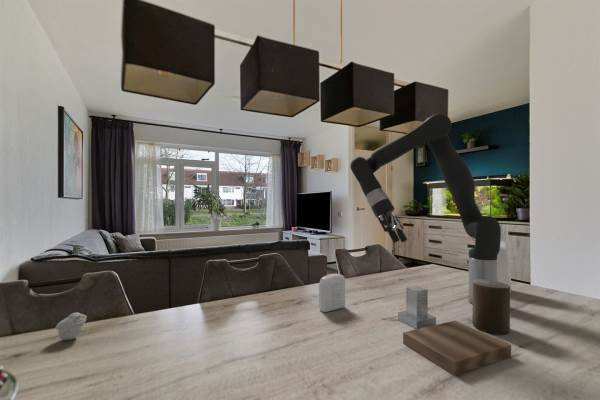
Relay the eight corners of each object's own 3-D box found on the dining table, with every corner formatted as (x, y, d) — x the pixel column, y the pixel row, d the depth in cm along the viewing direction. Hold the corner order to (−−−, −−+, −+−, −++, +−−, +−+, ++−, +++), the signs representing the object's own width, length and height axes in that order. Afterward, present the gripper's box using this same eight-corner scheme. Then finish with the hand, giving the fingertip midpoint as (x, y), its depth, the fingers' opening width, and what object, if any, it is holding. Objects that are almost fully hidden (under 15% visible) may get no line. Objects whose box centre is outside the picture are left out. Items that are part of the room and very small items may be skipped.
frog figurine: (88, 338, 83) (88, 313, 82) (56, 347, 78) (56, 320, 78) (84, 331, 87) (84, 308, 87) (53, 339, 82) (53, 314, 82)
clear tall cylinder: (474, 290, 127) (474, 230, 127) (479, 284, 135) (479, 228, 135) (508, 296, 119) (508, 232, 119) (511, 290, 128) (511, 230, 128)
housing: (416, 316, 99) (416, 283, 99) (436, 325, 92) (436, 290, 92) (398, 319, 96) (398, 286, 96) (416, 329, 88) (416, 293, 88)
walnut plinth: (454, 330, 88) (454, 320, 88) (511, 356, 73) (511, 344, 73) (403, 343, 80) (403, 332, 80) (454, 375, 65) (454, 362, 65)
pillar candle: (498, 337, 83) (499, 285, 83) (465, 324, 92) (466, 276, 92) (516, 331, 88) (517, 281, 88) (483, 319, 96) (484, 273, 96)
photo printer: (339, 304, 110) (339, 271, 110) (347, 307, 106) (347, 273, 106) (317, 309, 104) (317, 275, 104) (324, 313, 101) (324, 277, 101)
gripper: (380, 195, 104) (403, 236, 97) (394, 199, 115) (416, 236, 109) (363, 206, 107) (384, 246, 101) (378, 209, 118) (398, 245, 112)
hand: (401, 241), depth 105 cm, fingers open, 8 cm apart
